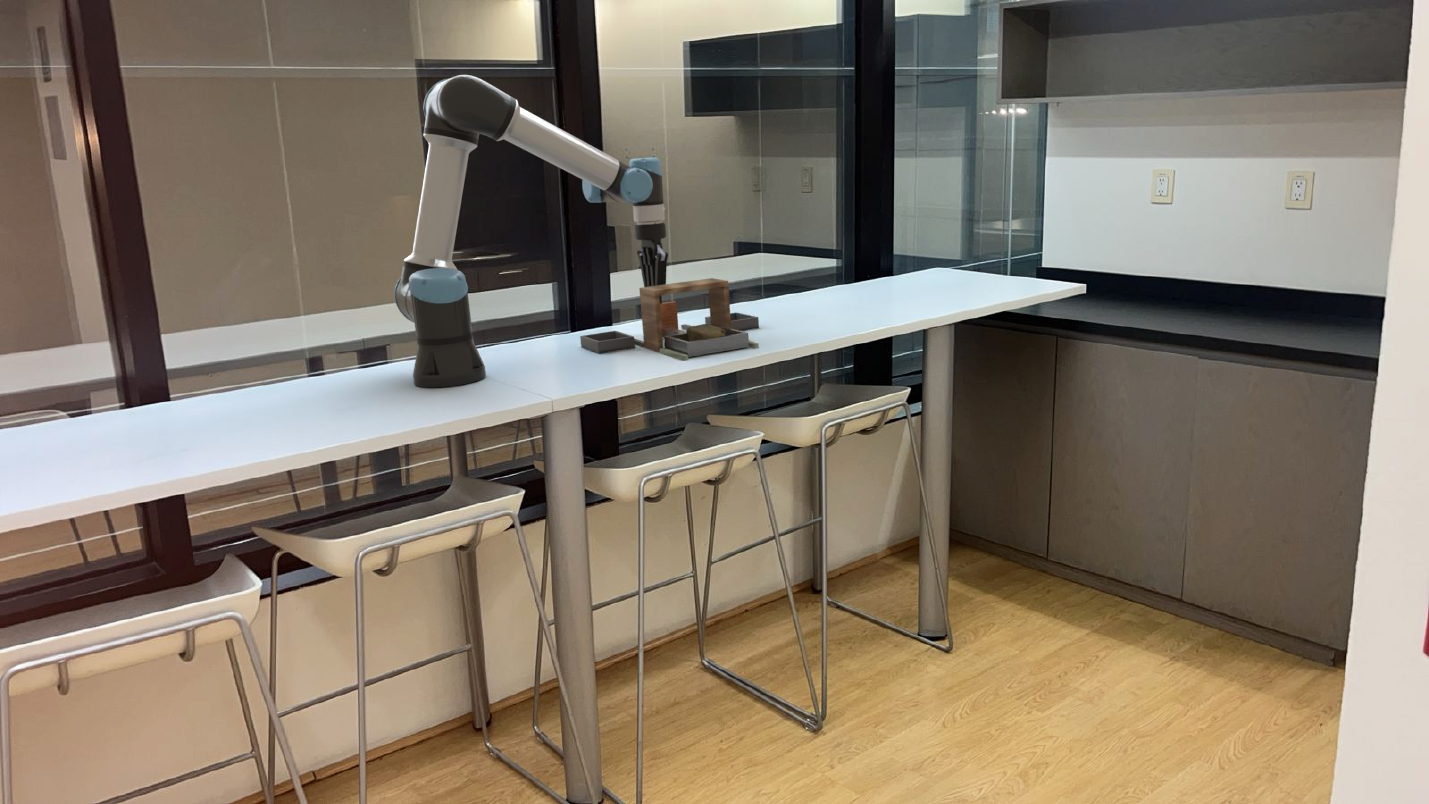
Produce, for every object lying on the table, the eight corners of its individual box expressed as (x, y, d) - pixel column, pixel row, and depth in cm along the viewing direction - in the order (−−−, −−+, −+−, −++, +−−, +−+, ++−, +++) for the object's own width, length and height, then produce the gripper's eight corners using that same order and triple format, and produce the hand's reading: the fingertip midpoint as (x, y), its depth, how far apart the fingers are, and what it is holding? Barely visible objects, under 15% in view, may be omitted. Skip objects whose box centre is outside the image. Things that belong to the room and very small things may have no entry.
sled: (688, 357, 233) (685, 321, 231) (633, 339, 259) (630, 307, 257) (749, 346, 240) (747, 311, 238) (690, 330, 266) (687, 299, 264)
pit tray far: (726, 333, 261) (726, 322, 260) (705, 327, 270) (704, 317, 270) (758, 328, 265) (758, 317, 264) (737, 323, 275) (736, 312, 274)
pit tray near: (598, 353, 246) (597, 342, 245) (581, 347, 255) (580, 335, 255) (634, 348, 250) (633, 336, 249) (616, 341, 259) (615, 330, 259)
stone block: (708, 343, 248) (706, 322, 247) (729, 351, 238) (727, 329, 237) (685, 346, 246) (684, 325, 245) (705, 354, 236) (704, 332, 234)
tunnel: (683, 360, 232) (678, 296, 228) (616, 338, 264) (611, 282, 260) (758, 347, 240) (755, 285, 237) (685, 328, 272) (681, 273, 269)
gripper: (675, 222, 254) (682, 319, 259) (652, 220, 265) (659, 313, 270) (647, 225, 250) (654, 323, 256) (624, 223, 261) (632, 317, 267)
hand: (657, 318), depth 263 cm, fingers closed
